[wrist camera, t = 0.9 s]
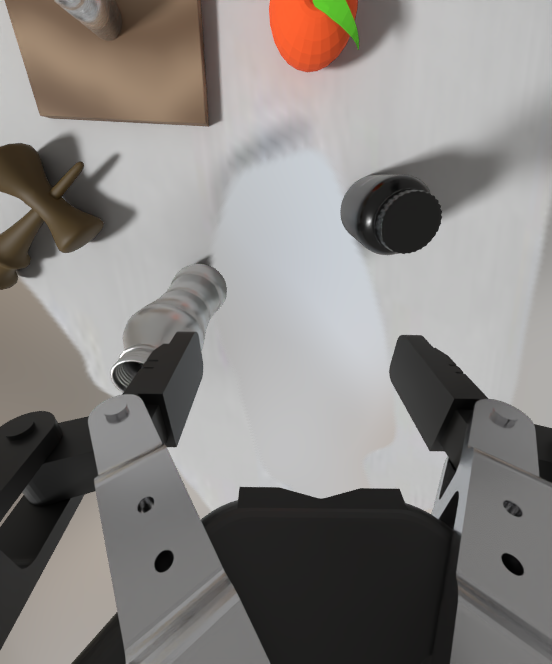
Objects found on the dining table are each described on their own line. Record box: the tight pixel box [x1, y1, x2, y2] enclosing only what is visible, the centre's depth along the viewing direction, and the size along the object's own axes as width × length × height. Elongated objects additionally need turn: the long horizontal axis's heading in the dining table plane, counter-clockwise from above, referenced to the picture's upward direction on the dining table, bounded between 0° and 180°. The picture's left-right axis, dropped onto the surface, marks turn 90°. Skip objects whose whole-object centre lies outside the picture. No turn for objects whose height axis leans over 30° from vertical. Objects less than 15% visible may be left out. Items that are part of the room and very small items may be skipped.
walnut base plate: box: [5, 0, 209, 126], centre depth 24 cm, size 14×16×2 cm
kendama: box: [0, 143, 104, 290], centre depth 30 cm, size 6×10×20 cm
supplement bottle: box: [341, 175, 442, 255], centre depth 27 cm, size 7×7×12 cm
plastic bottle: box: [111, 264, 227, 393], centre depth 28 cm, size 6×7×20 cm
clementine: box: [269, 0, 359, 72], centre depth 22 cm, size 8×7×7 cm
